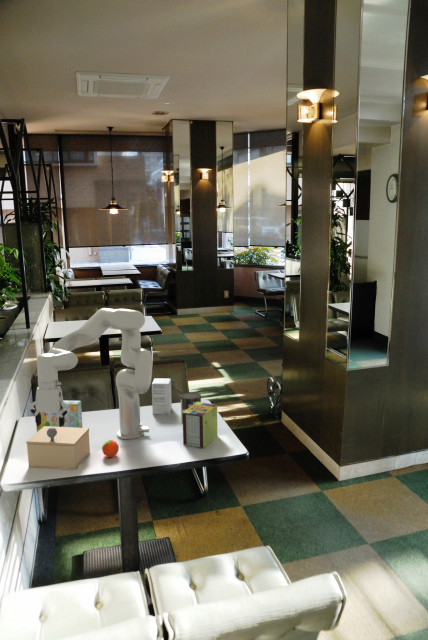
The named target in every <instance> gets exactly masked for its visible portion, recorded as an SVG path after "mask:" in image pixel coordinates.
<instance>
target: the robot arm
mask: <svg viewBox="0 0 428 640" xmlns="http://www.w3.org/2000/svg"><path fill="white" fill-rule="evenodd" d="M145 323H146V318H145V315H144V314H143V313H142V312H141V311H139V310H135V309H128V308H115V309H114V308H108V307H107V308H106V307H102V308H100V309H98V310H97V311H96V312H95V313H94V314H92V315H91V317H90V318H88V320H87V321H85V323H83V325H82V326H81V327H80V328H78V329H75V330H74V331H71V332H70V333H69V334H66V335H65V336H63V337H61V338H60V339H59V340H58V341H56V343H54V345H52V346H51V347H50V349H49V350H48V352H44V353H40V354H38V356H37V357H36V366H37V384H38V386H37V387H36V390H35V391H36V393H35V401H33V402H31V403H29V404H28V408H29V410H30V412H31V414H33V416H34V421H35V422H34V423H35V424H36V425H35V426H36V427H37V426H38V425H40V424H41V414H40V412H46V413H57V414H58V415H59V416H60V417H59V427H62V426H63V425H64V423H65V415H66V414H67V413H68V411H69V409H70V406H69V405H68V404H66V403H64V402H63V400H64V398H63V397H64V396H63V391H62V388H61V386H62V382H61V381H59V377H58V372H59V371H68V370H71V369H74V368H75V367H76V366H77V364H78V363H79V362H78V361H79V359H78V355H77V354H76V353H74V352H72V351H73V350H75V349H77V348H81V347H85V346H89V345H92V344H94V343H95V342H97V340H98V339H100V338H101V336H102V335H103V334H104V333H105V332H106V331H107V330H108V329H111V330H118V331H119V330H120V332H121V337H122V338H121V351H120V362H121V364H122V365H123V366H126V367H128V368H124V369H120V370H119V371H118V372H117V374H116V376H115V385H116V389H117V395H118V412H119V413H118V414H119V415H118V417H119V430H117V432H116V436H117V438H119V439H123V440H134V439H139V438H141V437H143V436H144V433H149V432H150V428H149V427H148V426H143V423H141V411H140V410H141V407H140V394H145V393H147V392H148V391H149V389H150V386H151V385H152V375H153V366H154V365H153V364H154V363H153V362H154V361H153V355H152V353H151V351H149V350H148V349H146V348H143V347H142V346H141V342H142V335H141V331H140V329H142V328H143V326H144V325H145ZM35 405H36V409H35ZM63 408H65V411H63V410H62V409H63Z"/></svg>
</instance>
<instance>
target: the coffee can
mask: <svg viewBox="0 0 428 640" xmlns="http://www.w3.org/2000/svg"><path fill="white" fill-rule="evenodd" d="M197 402H202V394H201V393H198V392H195V391H194V392H192V391H191V392H190V391H189V392H183V393H181V394H180V423H181V425H183V412H184V411H185V410H187V409H188V408H189V407H191V406H192V405H194V404H195V403H197Z"/></svg>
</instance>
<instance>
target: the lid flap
mask: <svg viewBox="0 0 428 640" xmlns="http://www.w3.org/2000/svg"><path fill="white" fill-rule="evenodd" d="M88 431H89V432H90V427H83V428H76V427H52V426H44V427H43V428H42V429H40V430H39V431H38V432H37V431H36V433H34V434H33V435H32V436H30V438H29V439H28V440H26V445H27V444H42V445H63V446H75V445H76V444H77V443H78V442H79V441H80V440H81V439H82V437H83V436H84V435H85V434H86V433H87V432H88Z"/></svg>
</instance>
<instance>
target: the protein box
mask: <svg viewBox="0 0 428 640" xmlns="http://www.w3.org/2000/svg"><path fill="white" fill-rule="evenodd" d="M217 437H218V404H214V403H208V402H203V401H201V402H197V403H195V404H194V405H192V406H191V407H189V408H188V409H187V410H185V411H184V412H183V424H182V440H183V441H182V442H183V446H188V447H189V446H190V447H195V448H198V449H204V448H206V447H207V446H208V445H209V444H210V443H211V442H213V440H215V439H216V438H217Z"/></svg>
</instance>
